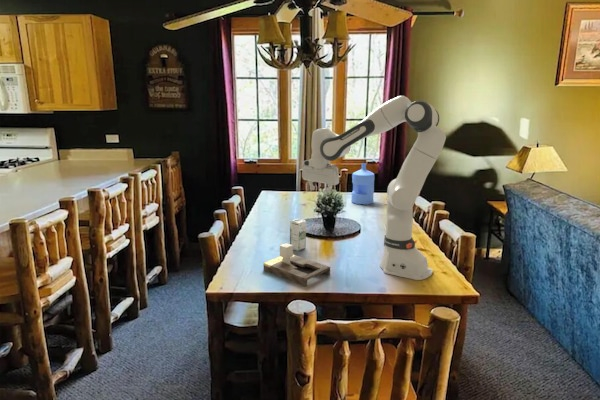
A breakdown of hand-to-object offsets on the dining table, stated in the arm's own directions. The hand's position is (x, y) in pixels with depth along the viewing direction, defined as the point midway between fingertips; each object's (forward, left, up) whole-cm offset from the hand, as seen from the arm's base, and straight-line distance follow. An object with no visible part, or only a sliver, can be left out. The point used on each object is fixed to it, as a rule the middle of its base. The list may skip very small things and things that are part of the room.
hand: (320, 191), depth 200 cm
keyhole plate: (-11, +29, -29) cm, 42 cm away
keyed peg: (-5, +29, -29) cm, 41 cm away
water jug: (+37, -94, -29) cm, 105 cm away
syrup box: (+8, +7, -29) cm, 31 cm away
